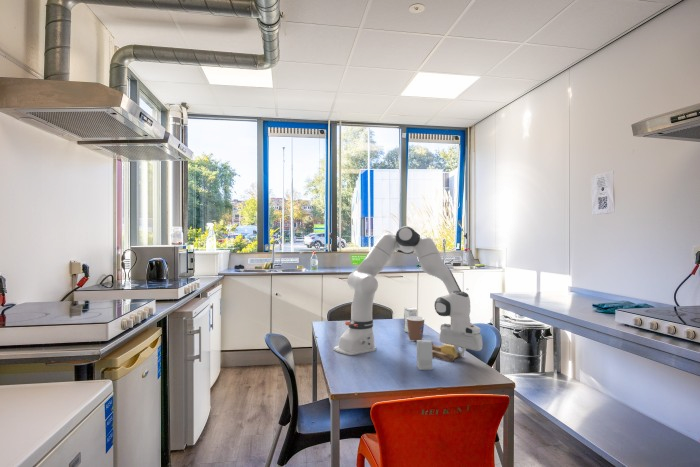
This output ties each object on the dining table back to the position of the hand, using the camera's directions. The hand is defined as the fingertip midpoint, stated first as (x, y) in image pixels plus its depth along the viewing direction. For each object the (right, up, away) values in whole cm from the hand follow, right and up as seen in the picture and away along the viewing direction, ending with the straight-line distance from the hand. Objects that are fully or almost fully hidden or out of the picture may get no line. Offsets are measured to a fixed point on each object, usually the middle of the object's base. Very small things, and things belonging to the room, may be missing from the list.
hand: (460, 356), depth 171 cm
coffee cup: (-15, -3, +35) cm, 38 cm away
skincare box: (-19, -2, -11) cm, 22 cm away
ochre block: (-4, -2, +4) cm, 6 cm away
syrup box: (-15, -3, +52) cm, 54 cm away
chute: (-7, -2, +7) cm, 10 cm away
